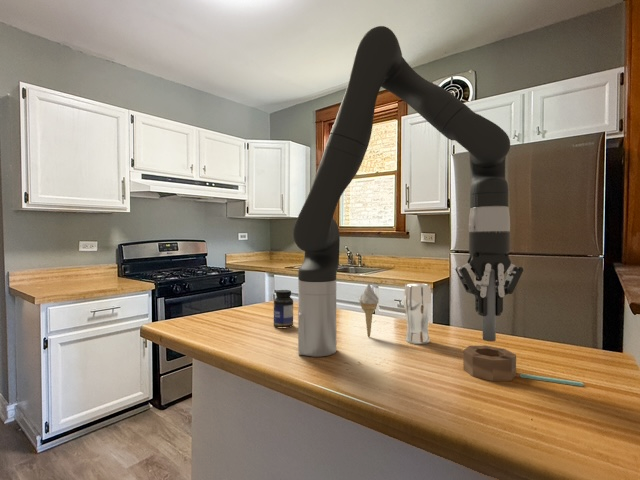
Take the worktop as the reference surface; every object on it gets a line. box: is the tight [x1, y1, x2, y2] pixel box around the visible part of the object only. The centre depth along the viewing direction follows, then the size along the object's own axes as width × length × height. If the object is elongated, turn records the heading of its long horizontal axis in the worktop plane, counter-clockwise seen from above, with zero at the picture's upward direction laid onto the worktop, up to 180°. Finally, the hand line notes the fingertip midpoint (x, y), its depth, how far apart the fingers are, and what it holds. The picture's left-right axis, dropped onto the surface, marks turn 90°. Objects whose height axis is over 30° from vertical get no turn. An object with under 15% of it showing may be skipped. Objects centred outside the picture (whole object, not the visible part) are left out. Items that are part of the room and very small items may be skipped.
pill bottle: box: [273, 289, 294, 328], centre depth 109 cm, size 6×6×11 cm
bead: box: [462, 344, 517, 382], centre depth 71 cm, size 9×9×4 cm
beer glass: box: [403, 282, 432, 346], centre depth 92 cm, size 7×7×15 cm
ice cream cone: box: [358, 282, 380, 338], centre depth 96 cm, size 6×6×15 cm
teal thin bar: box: [519, 373, 584, 387], centre depth 66 cm, size 10×1×1 cm, turn 64°
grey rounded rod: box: [482, 269, 497, 342], centre depth 71 cm, size 2×2×15 cm
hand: (489, 314), depth 71 cm, fingers closed on grey rounded rod, 2 cm apart
